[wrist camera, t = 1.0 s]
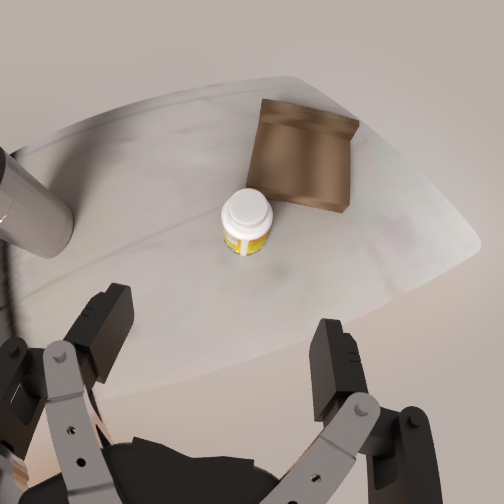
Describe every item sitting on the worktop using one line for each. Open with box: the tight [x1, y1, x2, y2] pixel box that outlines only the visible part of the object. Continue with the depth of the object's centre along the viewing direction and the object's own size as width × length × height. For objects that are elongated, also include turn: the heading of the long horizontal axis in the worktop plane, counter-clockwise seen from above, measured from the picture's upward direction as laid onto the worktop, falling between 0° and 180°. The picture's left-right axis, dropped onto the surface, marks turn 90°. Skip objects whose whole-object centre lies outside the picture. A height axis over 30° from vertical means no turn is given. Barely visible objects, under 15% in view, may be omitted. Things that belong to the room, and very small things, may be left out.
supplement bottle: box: [221, 188, 273, 256], centre depth 33 cm, size 6×6×10 cm
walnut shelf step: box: [246, 99, 359, 213], centre depth 38 cm, size 14×12×7 cm
